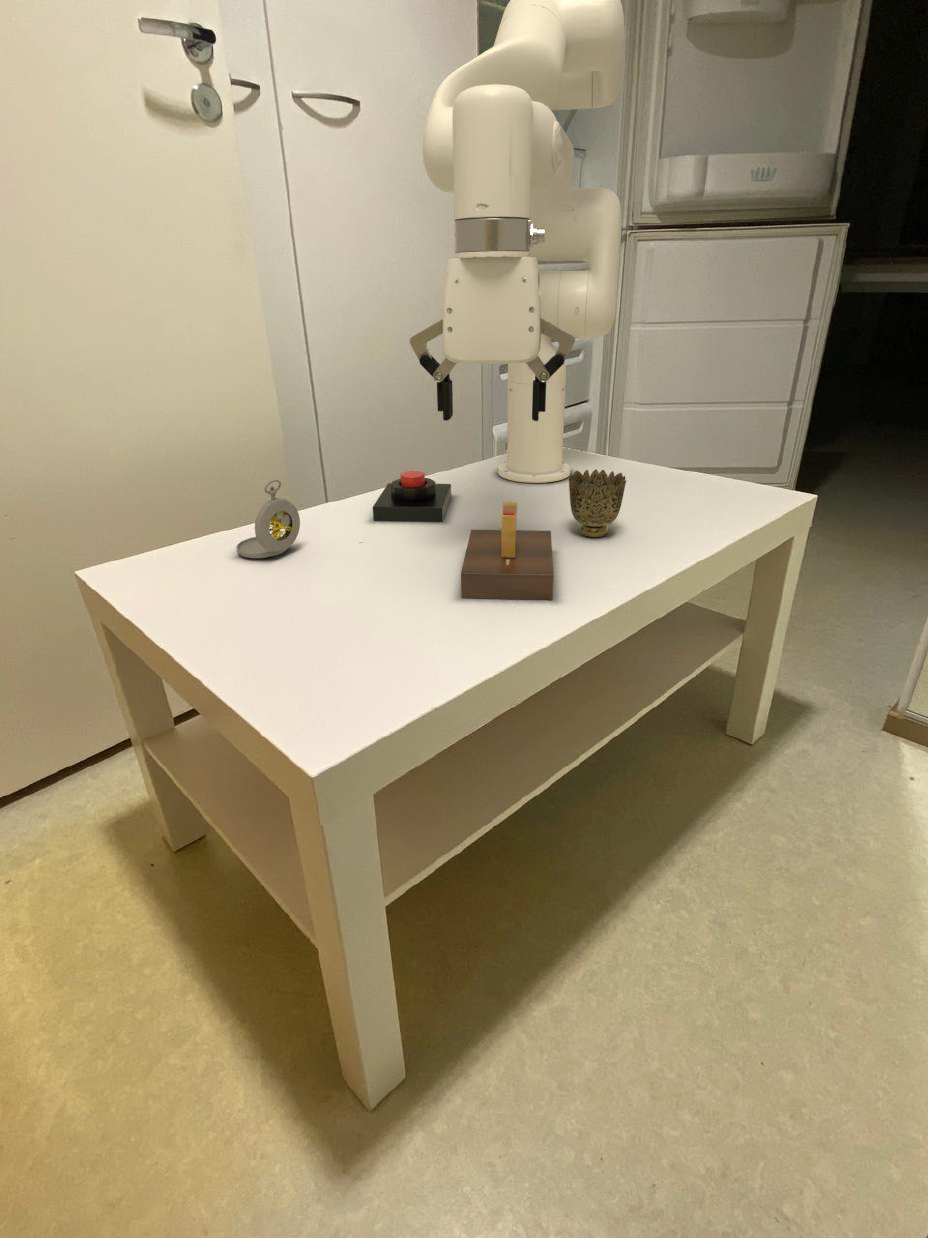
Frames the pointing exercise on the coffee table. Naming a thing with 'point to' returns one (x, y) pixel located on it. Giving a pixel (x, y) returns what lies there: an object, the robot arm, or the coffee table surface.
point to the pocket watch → (280, 517)
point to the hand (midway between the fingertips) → (491, 418)
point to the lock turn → (508, 530)
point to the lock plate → (508, 566)
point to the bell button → (412, 479)
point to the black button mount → (412, 502)
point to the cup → (595, 500)
